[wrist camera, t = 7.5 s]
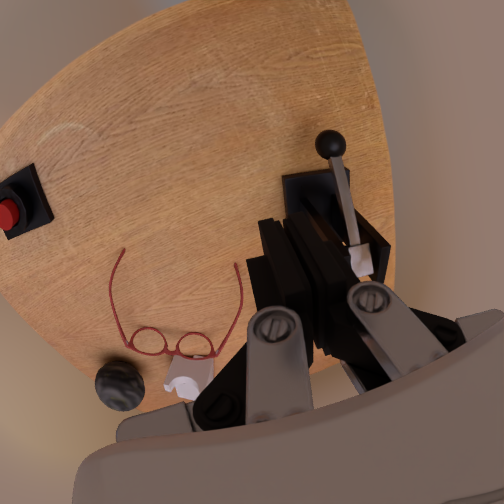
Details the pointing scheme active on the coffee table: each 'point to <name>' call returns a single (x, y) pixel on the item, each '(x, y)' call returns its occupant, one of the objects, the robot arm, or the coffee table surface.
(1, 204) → the button
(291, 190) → the bracket
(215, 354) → the red eyeglasses
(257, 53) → the coffee table surface
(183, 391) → the bracket
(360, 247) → the lever
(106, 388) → the decorative stone
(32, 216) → the control block
